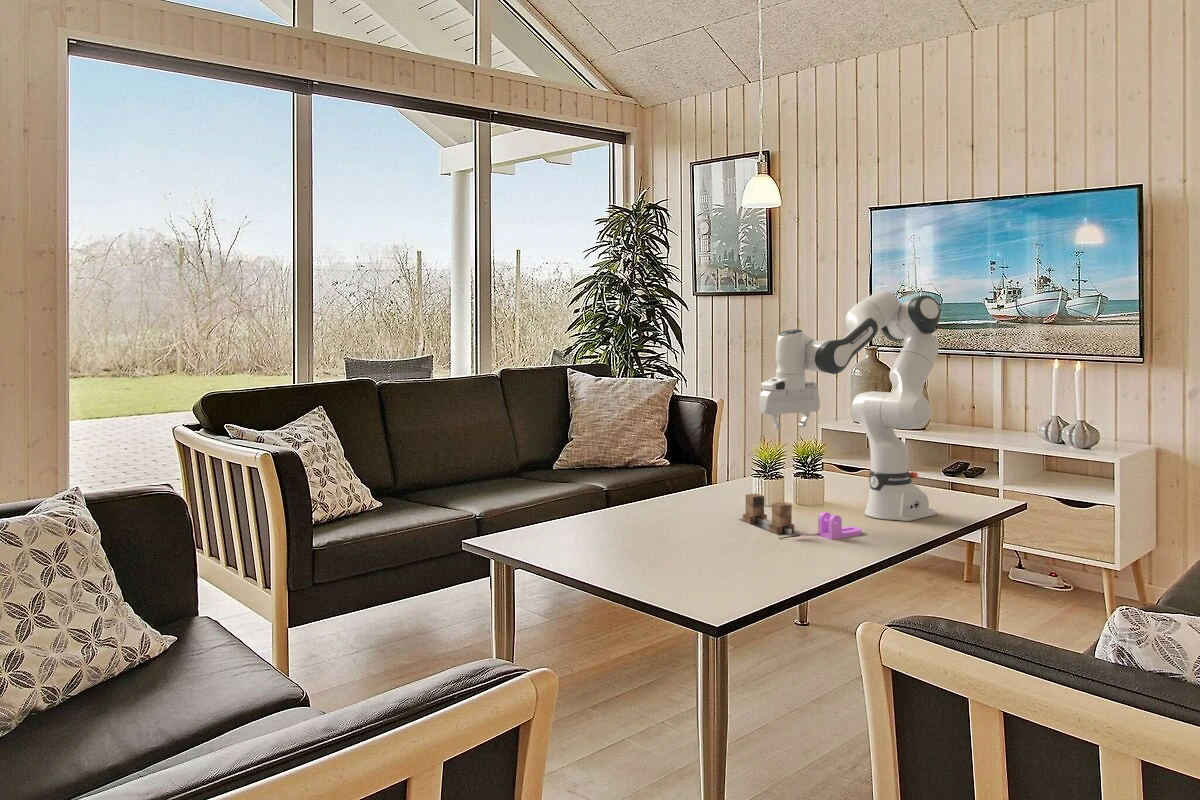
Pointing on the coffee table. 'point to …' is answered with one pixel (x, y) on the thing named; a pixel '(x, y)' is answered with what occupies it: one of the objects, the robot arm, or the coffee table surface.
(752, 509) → the fixed finger
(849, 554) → the coffee table surface
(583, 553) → the coffee table surface
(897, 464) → the robot arm
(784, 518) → the loose finger
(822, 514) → the bracket
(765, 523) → the rail
